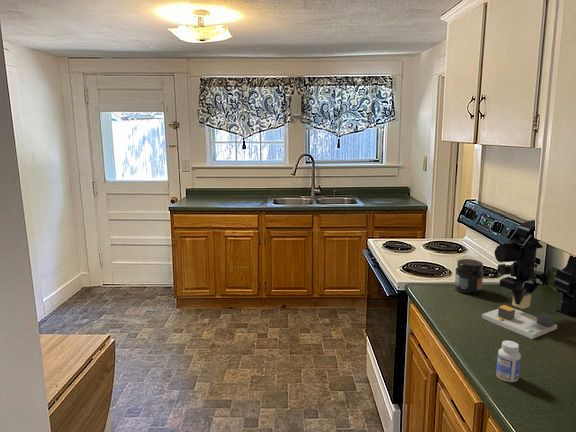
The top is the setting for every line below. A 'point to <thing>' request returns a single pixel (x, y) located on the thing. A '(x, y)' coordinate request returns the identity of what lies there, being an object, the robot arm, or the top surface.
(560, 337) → the top surface
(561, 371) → the top surface
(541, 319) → the plain toggle
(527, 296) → the block
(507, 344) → the pill bottle
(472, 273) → the supplement container
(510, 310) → the tagged toggle
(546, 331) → the panel
